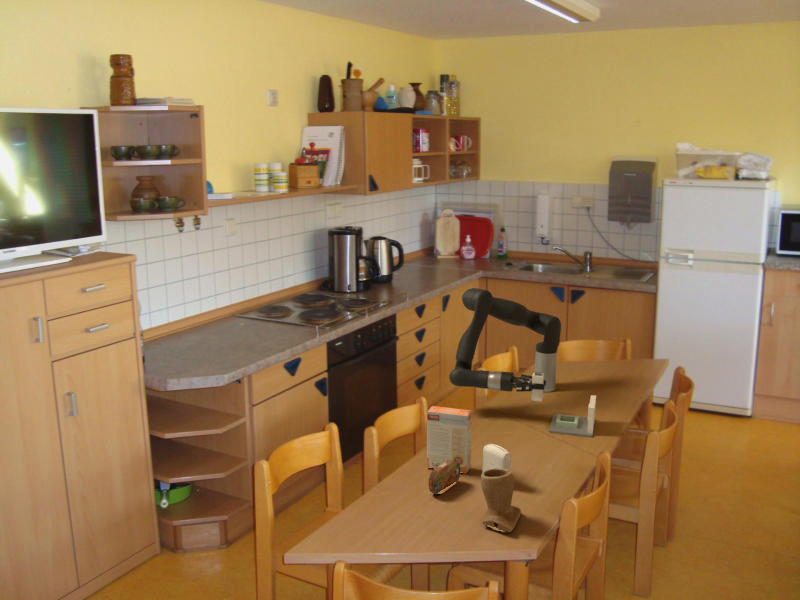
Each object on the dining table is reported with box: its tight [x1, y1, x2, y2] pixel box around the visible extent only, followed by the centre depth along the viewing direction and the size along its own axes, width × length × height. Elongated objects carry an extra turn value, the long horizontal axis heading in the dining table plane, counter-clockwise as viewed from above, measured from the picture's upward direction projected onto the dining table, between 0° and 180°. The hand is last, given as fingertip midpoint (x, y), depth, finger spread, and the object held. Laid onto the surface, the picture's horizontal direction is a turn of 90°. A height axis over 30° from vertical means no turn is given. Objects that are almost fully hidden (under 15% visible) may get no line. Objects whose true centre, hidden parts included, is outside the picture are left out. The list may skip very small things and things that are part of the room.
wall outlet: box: [548, 394, 597, 438], centre depth 298 cm, size 18×16×11 cm
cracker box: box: [426, 405, 473, 474], centre depth 260 cm, size 14×6×21 cm, turn 71°
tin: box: [428, 460, 461, 495], centre depth 247 cm, size 15×3×8 cm, turn 143°
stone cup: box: [480, 468, 522, 533], centre depth 227 cm, size 15×12×15 cm
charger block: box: [530, 370, 544, 402], centre depth 300 cm, size 4×4×11 cm
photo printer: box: [482, 443, 512, 473], centre depth 252 cm, size 10×4×12 cm, turn 39°
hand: (544, 385), depth 299 cm, fingers closed on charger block, 4 cm apart
